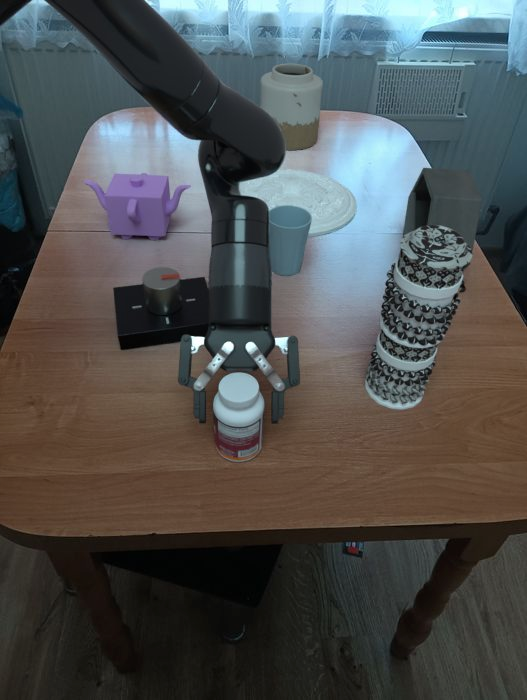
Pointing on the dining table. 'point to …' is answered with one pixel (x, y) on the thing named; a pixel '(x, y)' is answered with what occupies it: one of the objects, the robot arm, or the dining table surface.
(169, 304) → the hob knob
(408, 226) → the planter
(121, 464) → the dining table surface
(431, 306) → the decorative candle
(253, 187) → the ceiling medallion
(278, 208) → the cup
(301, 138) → the vase
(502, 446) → the dining table surface
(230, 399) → the pill bottle
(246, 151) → the robot arm
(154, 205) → the teapot
